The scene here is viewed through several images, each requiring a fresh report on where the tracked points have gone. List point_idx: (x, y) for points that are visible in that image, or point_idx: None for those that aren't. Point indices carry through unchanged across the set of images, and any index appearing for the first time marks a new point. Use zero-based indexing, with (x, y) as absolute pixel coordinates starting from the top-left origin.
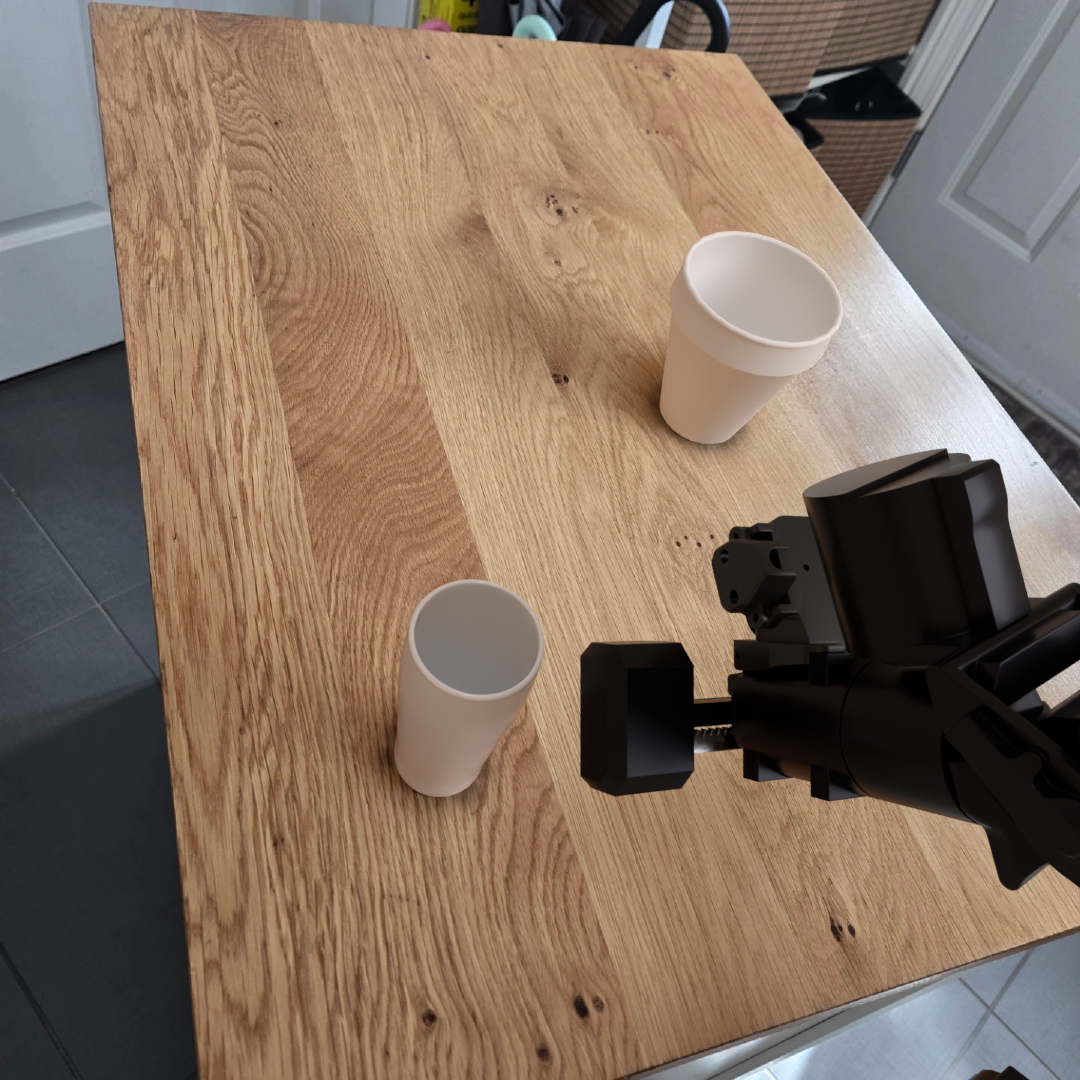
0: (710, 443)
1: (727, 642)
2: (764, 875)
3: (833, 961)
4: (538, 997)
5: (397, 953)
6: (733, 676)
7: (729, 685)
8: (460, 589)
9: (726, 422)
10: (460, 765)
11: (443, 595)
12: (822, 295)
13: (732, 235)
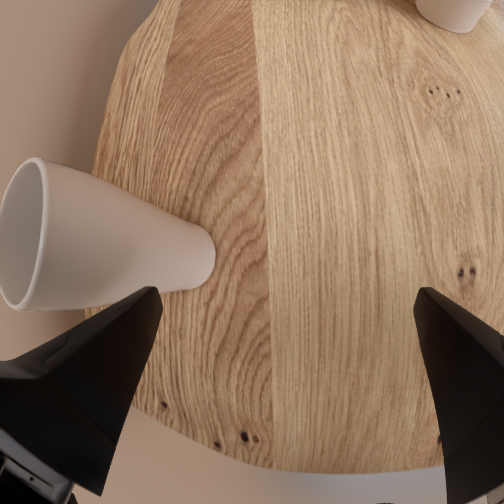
0: (454, 31)
1: (463, 185)
2: (415, 399)
3: (426, 453)
4: (220, 423)
5: (152, 369)
6: (424, 296)
7: (417, 302)
8: (33, 168)
9: (460, 13)
10: None
11: (27, 176)
12: None
13: None
